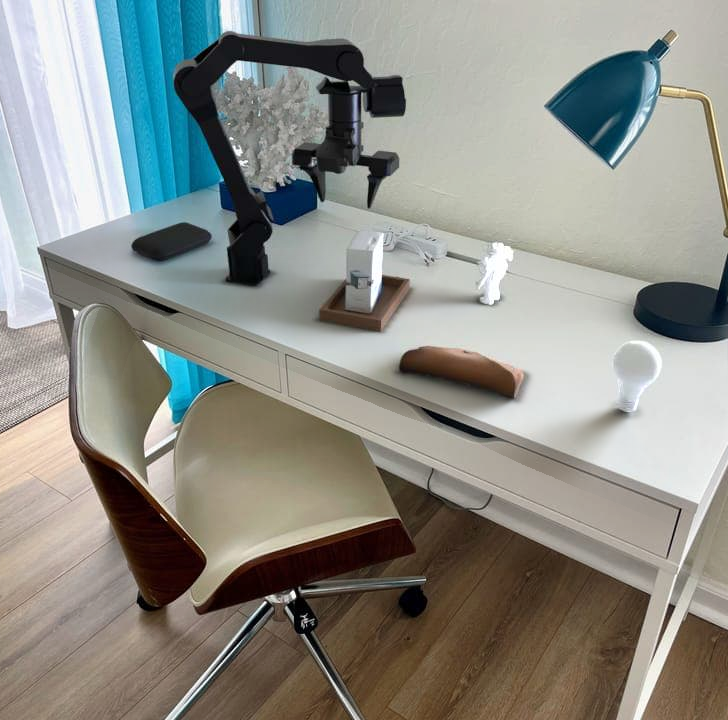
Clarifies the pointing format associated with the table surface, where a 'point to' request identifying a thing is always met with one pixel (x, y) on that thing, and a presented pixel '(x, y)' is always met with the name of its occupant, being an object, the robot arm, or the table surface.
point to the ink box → (364, 271)
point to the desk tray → (381, 313)
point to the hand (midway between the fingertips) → (345, 204)
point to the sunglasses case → (463, 368)
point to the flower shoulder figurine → (493, 270)
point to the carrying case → (171, 241)
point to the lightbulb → (634, 371)
